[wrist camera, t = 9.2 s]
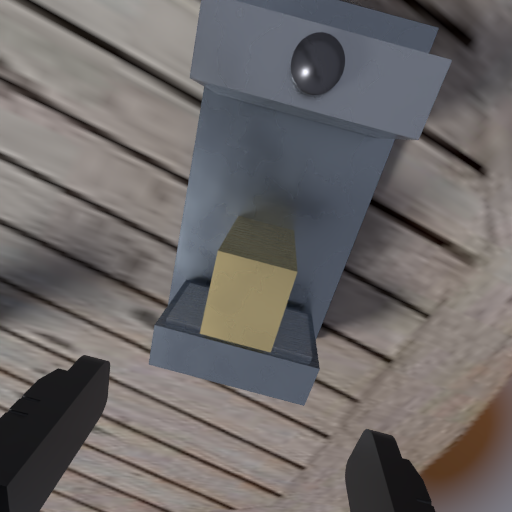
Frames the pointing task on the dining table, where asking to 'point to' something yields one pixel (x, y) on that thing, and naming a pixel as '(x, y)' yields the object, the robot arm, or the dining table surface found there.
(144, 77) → the dining table surface
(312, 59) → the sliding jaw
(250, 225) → the block
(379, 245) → the dining table surface
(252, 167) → the vise
